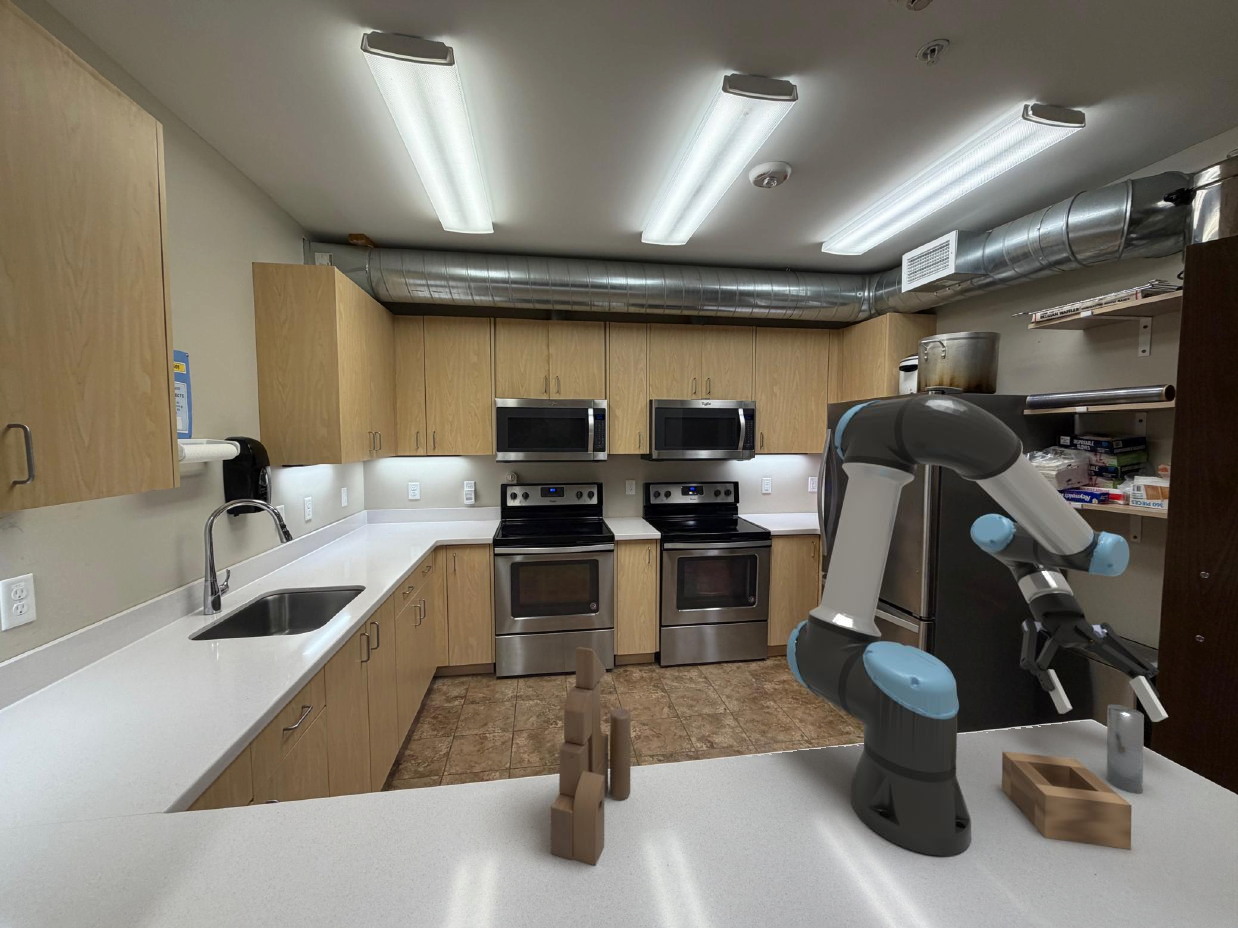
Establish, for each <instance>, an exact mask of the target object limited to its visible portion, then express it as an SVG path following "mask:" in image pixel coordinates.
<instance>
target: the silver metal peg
mask: <svg viewBox="0 0 1238 928" xmlns="http://www.w3.org/2000/svg"><path fill="white" fill-rule="evenodd" d="M1106 712H1107V718H1106V719H1107V720H1106V721H1107V722H1106V723H1107V724H1106V725H1107V727H1106V729H1107V731H1106V732H1107V733H1106V737H1107V738H1106V781H1107V782H1108V783H1109V784H1110V785H1112V786H1114V787H1115V788H1117V789H1119V790H1121V789H1122V791H1124V790H1125V791H1124V792H1127V793H1132V794H1142V793H1143V792H1144V788H1143V787H1144V741H1145V739H1144V734H1145V733H1144V731H1145V729H1144V728H1145V727H1144V726H1145V725H1144V724H1145V719H1144V718H1145V716H1144V714H1143V713H1142V712H1141V711H1139V710H1138V709H1134V708H1132V707H1129V706H1125V705H1121V704H1108V705H1107V711H1106Z"/></svg>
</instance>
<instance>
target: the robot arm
mask: <svg viewBox="0 0 1238 928" xmlns="http://www.w3.org/2000/svg"><path fill="white" fill-rule="evenodd" d="M834 432H835V434H834V446H836V447H837V449H836V452H837V454H838V456H839V457H840V458H841V459H842V460H843V462H842V465H841V467H842V469H843V470H844V472H845V473H846V475H847V476H848V480H847V485H846V490H845V492H844V493H845V494H844V499H843V502H842V508H841V512H840V517H839V520H838V526H837V530H836V535H835V538H834V544H833V548H832V552H831V557H830V560H829V561H830V562H829V567H828V571H827V573H826V574H827V575H826V580H825V583H824V588H823V594H822V597H821V602H820V605H818V606H817V607H815V608H813V609H812V610H810V611H809V613H808V618H807V620H804V621H801V622H799V623H798V624H796V625H797V626H796V627H797V628H793V630H792V631H791V633H790V635H789V637H788V640H787V646H786V659H787V660H786V661H787V664H788V666H789V667H788V668H789V669H790V671H791V673H792V675H793V676H794V679H795V680H797V682H799V683H800V684H801V685H803V686H804V687H805V688H807V690H808V691H809V692H811V693H812V694H813V695H815V696H817V697H820V698H822V699H823V700H825V701H827V702H828V703H829V704H831V705H833V706H835V707H836V708H838V709H840V710H842V711H843V712H845V713H847V714H849V716H852V717H854V719H856V720H858V721H859V722H861V723H862V724H863V750H862V753H861V755H860V757H859V760H858V762H857V765H856V767H855V769H854V771H853V774H852V777H851V781H850V801H851V805H852V807H853V809H854V812H855V813H856V814H857V816H858V817H859V818H860V819H861V820H862V821H863V823H864V824H866V825H867V826H868V827H869V828H870V829H871V830H873V831H874V832H875V833H877V834H878V835H879V836H880V837H883V838H884V839H886V840H888V841H889V842H892V843H894V845H898V846H899V847H902V848H904V849H907V850H911V851H913V852H917V853H921V854H926V855H932V856H941V857H944V856H953V855H957V854H960V853H961V852H964V851H966V850H967V848H969V845H970V844H971V842H972V819H971V815H970V812H969V809H968V806H967V804H966V800H965V798H964V795H963V792H962V788H961V785H960V783H959V780H958V777H957V752H958V751H957V746H958V743H957V742H958V735H957V734H958V712H959V709H960V704H959V699H958V693H957V690H958V689H957V682H956V678H955V677H954V674H953V673H952V671H951V669H950V668H949V667H948V666H947V665H946V664H945V663H944V662H943V661H942V660H940V659H938V658H937V657H935V656H934V655H933V654H930V653H929V652H926V651H924V650H922V649H919V648H917V647H915V646H912V645H903V644H901V643H900V642H893V641H883V640H882V641H881V638H882V632H880V629H879V628H878V627H877V624H876V623H875V621H874V620H875V618H876V610H877V606H878V602H879V598H880V593H881V588H882V583H883V578H884V575H885V574H884V573H885V569H886V563H887V559H888V554H889V550H890V547H891V546H890V545H891V541H892V535H893V531H894V526H895V521H896V516H897V513H898V505H899V504H900V503H899V502H900V499H901V495H902V494H901V493H902V488H903V487H904V486H905V485H907V484H909V483H911V482H912V481H914V480H915V475H916V471H917V466H920V465H921V466H928V465H929V466H931V465H932V466H941V467H945V468H949V469H951V470H954V471H955V472H956V473H957V474H958V475H959V476H960V477H962V478H963V479H965V480H968V481H972V482H973V481H974V482H976V483H977V484H978V485H979V486H980V487H981V488H982V489H983V490H984V491H985V492H987V494H988V495H989V496H991V498H992V499H993V500H995V502H996V503H997V504H998V505H999V506H1000V507H1002V509H1004V511H1006V512H1007V513H1008V514H1009V515H1010V516H1011V517H1012V518H1013V519H1014V520H1015V521H1016V522H1013V521H1012V520H1010V518H1007V517H1005V516H1003V515H1001V514H998V513H988V514H985V515H982V516H980V517H978V518H977V519H976V520H975V521H974V522H973V524H972V525H971V527H970V538H971V539H972V541H973V542H974V543H975V544H976V545H977V546H978V547H979V548H980V550H982V551H984V552H986V553H988V554H989V555H990V556H992V557H994V558H995V559H997V560H998V561H999V562H1001V563H1003V565H1005V566H1007V567H1008V568H1009V570H1010V571H1011V573H1012V575H1013V577H1014V579H1015V581H1016V584H1017V585H1018V587H1019V589H1020V591H1021V593H1022V595H1023V596H1024V599H1025V601H1026V602H1027V603H1028V607H1029V609H1030V612H1031V614H1032V616H1033V618H1034V619H1032V618H1031V617H1027V618H1026V619H1025V620H1024V621H1023V622H1022V623H1021V624H1020V627H1021V629H1022V633H1023V637H1022V638H1023V639H1022V644H1021V645H1022V646H1021V653H1020V662H1019V667H1020V668H1021V669H1022V670H1025V671H1026V670H1029V671H1030V673H1031V675H1033V676H1037V680H1038V681H1039V684H1040V685H1041V688H1042V689H1043V690H1044V691H1045V692H1048V693H1049V694H1050V697H1051V699H1052V701H1053V703H1054V705H1055V708H1056V710H1057V712H1058V714H1063V715H1064V714H1066V713H1067V712H1069V711H1071V710H1073V707H1072V705H1071V703H1070V699H1068V697H1067V695H1066V693H1065V691H1064V688H1063V686H1062V683H1061V682H1060V680H1059V678H1058V676H1057V674H1056V672H1055V670H1054V669H1050V668H1048V667H1049V665H1050V664H1051V661H1052V659H1053V657H1054V655H1055V654H1056V652H1057V649H1058V647H1059V646H1061V647H1062V648H1065V649H1066V648H1067V649H1068V648H1074V649H1081V650H1082V649H1085V650H1087V651H1088V652H1089V653H1094V654H1096V656H1098V657H1100V658H1101V659H1102V660H1104V661H1106V662H1107V663H1109V664H1110V666H1111V665H1112V666H1113V667H1114V668H1116V669H1117V670H1119V671H1120V672H1121V673H1123V674H1125V675H1126V676H1127V677H1129V678H1131V680H1130V681H1128V683H1129V684H1130V686H1131V688H1132V689H1133V691H1134V693H1135V695H1136V696H1137V697H1138V699H1139V701H1140V703H1141V705H1142V707H1143V708H1144V710H1145V711H1146V714H1147V715H1148V716H1149V719H1150V720H1151V722H1154V723H1155V722H1156V723H1158V722H1160V721H1162V720H1165V719H1167V718H1169V716H1168V714H1167V712H1166V710H1165V709H1164V707H1163V706H1162V704H1161V702H1160V700H1159V698H1160V693H1159V692H1158V690H1157V689H1156V687H1155V686H1154V684H1153V682H1152V681H1151V678H1152V677H1154V676H1156V675H1158V674H1159V673H1160V671H1159V669H1158V668H1157V667H1156V666H1155V665H1153V664H1152V663H1151V662H1150V661H1149V660H1147V659H1146V658H1145V657H1144V656H1143V655H1142V654H1141V653H1139V652H1138V651H1137V650H1136V649H1134V648H1133V647H1132V646H1131V645H1130V644H1129V643H1127V641H1125V640H1124V639H1123V638H1122V637H1120V636H1119V635H1118V634H1117V633H1116V632H1115V630H1114V629H1113V628H1112V626H1111V625H1110V624H1109V623H1108V622H1106V621H1105V622H1101V624H1094V625H1093V624H1091V623H1089V621H1088V620H1087V619H1086V615H1085V612H1084V609H1083V608H1082V606H1081V605H1080V602H1079V601H1078V599H1077V598H1076V596H1074V592H1073V590H1072V588H1071V587H1070V585H1069V583H1068V581H1067V580H1066V579H1065V577H1064V576H1063V574H1062V573H1061V571H1060V569H1063V570H1067V571H1072V572H1079V573H1083V574H1088V575H1091V576H1092V575H1096V576H1097V575H1098V576H1106V577H1110V578H1111V577H1117V576H1119V575H1121V574H1122V573H1123V572H1125V571H1126V569H1127V567H1128V565H1129V560H1130V549H1129V548H1130V547H1129V545H1128V542H1127V540H1126V539H1125V538H1124V537H1123V536H1122V535H1120V534H1116V533H1115V534H1114V533H1109V532H1106V531H1096V530H1095V529H1093V527H1091V526H1090V524H1088V522H1087V521H1086V520H1085V519H1084V518H1083V517H1082V516H1081V515H1080V513H1078V511H1077V510H1076V509H1075V508H1074V507H1073V506H1072V505H1071V503H1069V502H1068V501H1067V499H1065V497H1064V496H1063V495H1062V494H1061V493H1060V492H1059V491H1058V490H1057V489H1056V488H1055V487H1054V486H1053V484H1051V482H1050V481H1049V480H1048V479H1047V478H1046V477H1045V476H1044V475H1043V473H1042V472H1040V470H1038V469H1037V467H1036V466H1035V465H1034V464H1033V463H1032V462H1031V461H1030V460H1029V459H1028V457H1027V456H1025V454H1024V453H1023V448H1024V447H1023V442H1022V441H1021V439H1020V437H1018V435H1017V434H1016V433H1015V432H1014V431H1013V430H1012V429H1011V428H1010V427H1009V426H1007V425H1006V424H1005V423H1004V422H1003V421H1002V420H1000V419H999V418H998V417H996V416H995V415H993V414H992V413H990V412H988V411H986V409H983V408H982V407H980V406H977V405H975V404H974V403H972V402H969V401H966V400H964V399H961V398H958V397H956V396H955V397H954V396H952V395H947V394H937V393H936V394H935V393H933V394H931V393H930V394H924V395H923V394H922V395H919V396H910V397H903V398H895V399H887V400H881V399H880V400H879V399H878V400H873V401H869V402H867V403H862V404H857V405H855V406H854V407H852V408H850V409H848V410H847V411H846V412H845V413H844V414H843V415H842V417H841V418H840V420H839V422H838V423H837V426H836V428H835V431H834ZM1039 631H1040V632H1041V633H1043V634H1044V635H1045V636H1047V637H1048V638H1047V640H1046V641H1045V643H1044V647H1043V648H1042V650H1041V652H1040V654H1039V656H1038V658H1037V659H1036V661H1035V657H1036V649H1037V648H1036V647H1037V638H1038V632H1039ZM1091 642H1093V643H1091ZM1047 668H1048V669H1047Z"/></svg>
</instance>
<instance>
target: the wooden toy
mask: <svg viewBox="0 0 1238 928" xmlns="http://www.w3.org/2000/svg"><path fill="white" fill-rule="evenodd" d="M605 674H607V670H606V668H605V667H604V665H603V664H602V662H601V660H600V659H599V657H598V656H597V655H596V653H595V651H594V650H593V649H592V648H591V647H590V648H589V647H583V646H578V647H576V649H575V685H574V686H572V688H570V690H569V692H568V695H567V698H566V702H565V705H564V708H563V710H564V711H563V740H564V741H563V743H562V744H561V746H559V751H558V752H559V755H558V756H559V757H558V759H559V760H558V761H559V765H558V766H559V767H558V769H559V776H558V778H559V779H558V781H559V782H558V784H559V785H558V786H559V788H558V790H559V791H558V792H559V794H558V795H557V796H556V798H555V800H553V801H554V802H553V803H552V804H551V806H550V854H551V855H553V856H557V857H560V858H563V859H566V860H570V861H571V860H576V861H579V862H583V863H586V864H587V865H592V866H596V865H597V863H598V861H599V860H600V857H601V854H602V853H603V851H604V849H605V798H606V796H607V794H608V792H609V793H610V796H611V797H612V798H613V799H615V800H618V801H622V800H626V799H627V798H628V797H630V794H631V757H632V755H631V750H632V749H631V736H632V735H631V732H632V730H631V725H632V724H631V723H632V721H631V717H632V716H631V715H632V714H631V712H630V711H629V710H628V708H627V709H626V708H622V707H620V708H618V707H616V708H614V709H613V710H611V711H610V714H609V734H608V733H606V732H605V733H604V732H602V728H601V705H602V704H601V703H602V701H601V700H602V698H601V687H602V685H601V679H603V677H604V676H605Z"/></svg>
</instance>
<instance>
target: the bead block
mask: <svg viewBox="0 0 1238 928" xmlns="http://www.w3.org/2000/svg"><path fill="white" fill-rule="evenodd" d="M1001 754H1002V757H1001V759H1002V760H1001V761H1002V762H1001V763H1002V764H1001V789H1002V791H1003V792H1004V793H1005V794H1006V795H1007V796H1008V798H1010V800H1011V801H1012V802H1013V803H1014V804H1015V805H1016V806H1017V808H1018V809H1019V810H1020V811H1021V812H1022V813H1023V814H1024V816H1026V818H1027V819H1028V820H1029V821H1030V822H1031V824H1032V825H1033V826H1034V827H1035V828H1036V829H1037V831H1039V833H1040V834H1041V835H1042V836H1043V837H1044V838H1045V839H1051V840H1052V839H1053V840H1060V841H1065V842H1066V841H1067V842H1073V843H1074V842H1075V843H1082V844H1088V845H1098V846H1103V847H1110V848H1111V847H1112V848H1116V849H1117V848H1118V849H1123V850H1124V849H1125V850H1131V849H1132V810H1133V809H1132V804H1131V803H1130V802H1128V801H1127V800H1126V799H1125V798H1123V797H1122V796H1121V795H1120V794H1119V793H1118V792H1116V791H1115V790H1114V789H1113V788H1111V786H1109V785H1108V784H1107V783H1105V782H1104V781H1103V780H1102V779H1100V778H1099V777H1098V776H1097V775H1096V774H1095V773H1093V772H1092V771H1091V770H1090V769H1088V768H1087V767H1086V766H1085V765H1083V763H1082V762H1080V761H1078V760H1077V759H1076V758H1069V757H1061V756H1060V757H1058V756H1050V755H1040V754H1032V753H1023V752H1014V751H1013V752H1012V751H1002V753H1001Z"/></svg>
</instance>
